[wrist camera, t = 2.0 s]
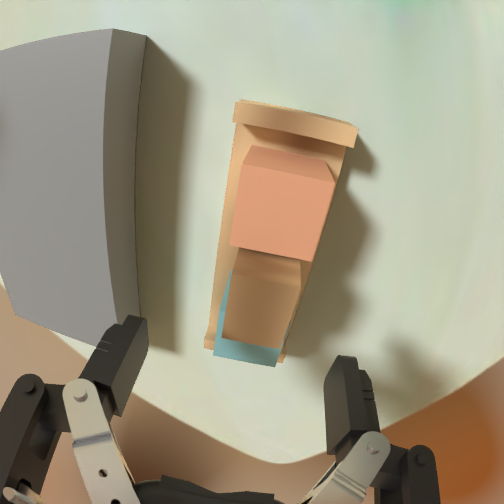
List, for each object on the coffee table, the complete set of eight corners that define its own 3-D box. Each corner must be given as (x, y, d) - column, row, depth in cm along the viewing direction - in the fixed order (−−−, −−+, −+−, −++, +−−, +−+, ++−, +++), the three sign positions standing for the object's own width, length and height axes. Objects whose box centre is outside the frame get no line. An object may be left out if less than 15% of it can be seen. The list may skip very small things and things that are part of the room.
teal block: (291, 281, 20) (290, 324, 17) (277, 324, 23) (274, 367, 19) (230, 269, 20) (219, 310, 17) (224, 313, 23) (213, 355, 19)
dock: (146, 35, 14) (112, 28, 11) (141, 321, 26) (123, 355, 22) (13, 54, 14) (-25, 59, 11) (37, 289, 26) (15, 314, 22)
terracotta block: (324, 160, 16) (335, 183, 13) (307, 224, 18) (311, 261, 15) (251, 144, 16) (241, 164, 13) (240, 211, 18) (228, 245, 15)
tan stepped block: (347, 121, 16) (384, 148, 10) (283, 335, 25) (279, 413, 19) (243, 99, 16) (215, 111, 10) (211, 320, 25) (189, 396, 19)
